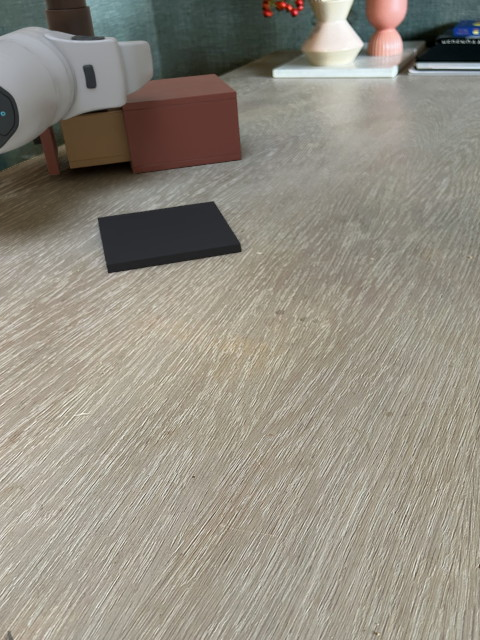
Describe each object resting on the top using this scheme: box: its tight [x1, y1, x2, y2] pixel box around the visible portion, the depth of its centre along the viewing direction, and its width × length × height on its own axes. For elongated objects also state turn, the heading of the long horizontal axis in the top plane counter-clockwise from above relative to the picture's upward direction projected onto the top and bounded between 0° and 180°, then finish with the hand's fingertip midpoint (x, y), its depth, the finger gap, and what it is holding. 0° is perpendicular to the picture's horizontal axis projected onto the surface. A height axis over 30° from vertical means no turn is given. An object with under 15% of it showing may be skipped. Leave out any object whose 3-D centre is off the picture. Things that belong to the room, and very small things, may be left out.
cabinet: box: [121, 73, 242, 175], centre depth 86 cm, size 14×13×8 cm
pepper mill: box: [44, 0, 108, 115], centre depth 79 cm, size 5×5×20 cm
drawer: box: [32, 107, 131, 176], centre depth 84 cm, size 14×11×6 cm
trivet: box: [97, 200, 242, 274], centre depth 64 cm, size 12×12×1 cm
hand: (79, 54), depth 80 cm, fingers closed on pepper mill, 5 cm apart
